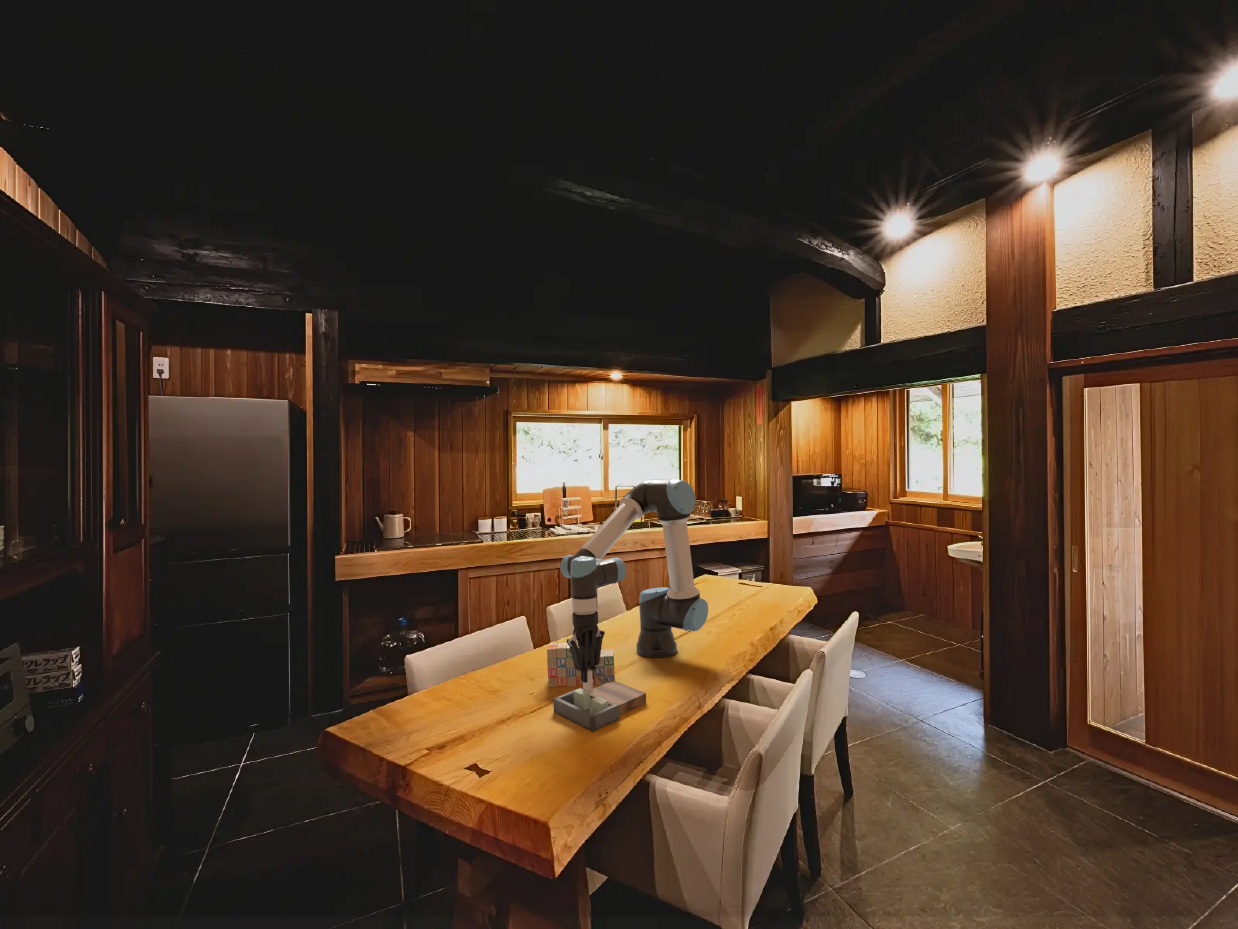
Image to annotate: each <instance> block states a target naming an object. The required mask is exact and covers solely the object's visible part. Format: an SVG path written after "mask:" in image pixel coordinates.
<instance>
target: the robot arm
mask: <svg viewBox="0 0 1238 929" xmlns="http://www.w3.org/2000/svg"><path fill="white" fill-rule="evenodd" d="M695 505H696V494H695V490H694V489H693V487H692V485H691V484H689V482H688V481H686V480H683V479H673V478H672V479H670V478H669V479H668V478H667V479H648V480H644V481H643V482H641V483H639V484H637V485H636V486H634V487H633V488H631V489H630V490H629V491H628V492H627V493H626V494H625V495H624V496H623V497H622V498H621V499H620V500H619V506H618V507H617V508H616V509H615V510H613V512H612V513H611V514H610V516H609V517H608V518H606V519H605V521H604V522H603V523H602V524H601V525H600V526H599V527H598V528H597V530H596V531H595V532H594V533H593V534H592V535H591V536H590V537H589V539H588V540H587V541H586V542H585V543H584V544H583V545H582V546H581V547H580V548H579V550H577V552H576V553H575V554H567V555H566V556H564V557H563V558H562V560H561V561H560V566H559V569H560V572H561V574H562V576H564V577H565V578H567V579H570V588H571V611H572V614H571V618H572V626H573V631H572V636H571V637H570V638H568V639H566V642H567V644H568V645H569V647H570V651H571V655H572V659H573V663H574V667H575V669H576V670H579V671H581V681H582V682H583V685H582V689H583V690H585V691H588V692H590V694H591V693H593V689H594V685H593V679H594V670H596V667H595V666H596V665H599V661H600V654H601V650H602V647H603V646H602V644H603V639H604V637H605V634H606V633H605V632H606V631H605V630H601V629H599V626H598V624H599V612H598V609H599V606H598V605H599V604H598V603H599V602H598V601H599V600H598V588H601V587H605V586H610V585H614V584H617V583H619V582H621V581H623V580H624V579H625V577H626V575H627V566H626V563H625V562H624V561H623V560H622V559H621V558H620V557H609V558H604V557H605V555H607V553H609V551H610V550H611V549H612V548H613V546H614V545H615V544H617V543H618V540H619V539H620V538H621V537H622V536H623V535H624V533H626V531H627V530H628V529H629V528H630V527H631V526H632V524H634V522H635V521H636V520H637V521H638V520H640V519H642V517H643V516H644V515H646V514H648V513H656V519H657V521H658V522H659V523H661V525H662V530H663V539H664V548H665V556H666V565H667V570H668V572H667V573H668V580H669V587H670V588H669V587H665V586H664V587H653V588H648V589H645V590H642V591H641V592H639V593H640V594H639V601H638V603H639V604H638V605H639V622H640V623H639V624H640V625H639V628H640V630H639V635H638V639H637V642H636V646H635V648H636V653H637V654H638V655H640V656H643V657H648V658H666V657H671V656H672V655H675V654H676V653H677V652H678V646H677V642H676V641H675V635H674V633H673V631H672V628H674V629H679V630H684V631H687V632H688V631H690V632H697V631H700V630H701V629H702V627H704V625H705V623H706V621H707V618H708V614H709V605H708V602H707V601H706V599H704V598H703V597H701V594H700V593H701V592H700V590H699V588H698V587H696V586H695V580H694V579H695V578H694V572H693V562H692V554H691V546H690V545H691V544H690V537H689V530H688V522H687V521H688V520H689V519H690V518H691V513H692V512H693V511H694V509H695V507H696V506H695ZM577 642H578V646H577ZM578 647H579V649H578ZM595 659H596V660H595Z"/></svg>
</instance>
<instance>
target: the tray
mask: <svg viewBox="0 0 1238 929" xmlns="http://www.w3.org/2000/svg"><path fill="white" fill-rule="evenodd" d="M577 689H578V688H577ZM577 689H575V690H577ZM573 691H574V690H572V691H569V692H566V693H564V694H562V695H561V694H560V695H559V696H556V697H554V698H553V699H552V700H553V713H554V714H555V715H557V716H560V717H562V718H564V719H565V720H569V721H570V722H572V723H574V724H576V725H578V726H580V727H582V728H584V729H586V730H587V731H590V732H592V733H594V732H596V731H598V730H601V729H602V728H604V727H606V726H608V725H610V724H613V723H615V722H617V721H619V720H620V718H621V717H620V716H619V705H617V704H614V705H612V706H610V707H607V708H605V709H603V710H601V711H598V712H596V713H594V714H591V708H590V709H588V710H583V709H581V708H579V707H577V706H575V705H574V693H573ZM590 705H591V704H590Z"/></svg>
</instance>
